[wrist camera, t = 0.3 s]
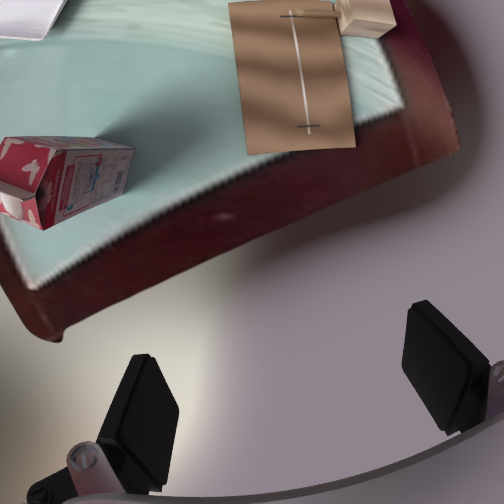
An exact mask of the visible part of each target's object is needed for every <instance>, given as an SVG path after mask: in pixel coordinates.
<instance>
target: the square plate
mask: <svg viewBox="0 0 504 504" xmlns="http://www.w3.org/2000/svg"><path fill="white" fill-rule="evenodd" d="M66 2H67V0H0V38H9V39H21V40H31V41H41V40H43V39H44V38H45V37H46V36H47V34H48V33H49V32H50V30H51V28H52V27H53V25H54V23H55V21H56V20H57V18H58V16H59V14H60V13H61V11H62V9H63V7H64V5H65V4H66Z"/></svg>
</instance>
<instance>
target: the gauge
mask: <svg viewBox="0 0 504 504" xmlns="http://www.w3.org/2000/svg"><path fill="white" fill-rule="evenodd" d="M333 10H334V11H326V10H296V16H298V17H301V16H315V17H334V18H336V22H337V27H338V31H339V35H348V36H359V37H369V38H377V39H378V38H379V37H381V36H382V35H384V34H385V33H386V32H388V31H389V30H391V29H392V28H393V27H395V26H396V21H395V18H394V14H393V11H392V7H391V4H390V1H389V0H337V1H336V3H335V4H334V6H333Z"/></svg>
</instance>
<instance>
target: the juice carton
mask: <svg viewBox="0 0 504 504" xmlns="http://www.w3.org/2000/svg"><path fill="white" fill-rule="evenodd" d="M134 151H135V148H132V147H128V146H125V145H121V144H117V143H114V142H110V141H106V140H102V139H98V138H93V137H67V136H21V137H5V138H4V139H3V141H2V143H1V144H0V212H1V213H3V214H5V215H8V216H10V217H12V218H15V219H17V220H19V221H21V222H24V223H26V224H29V225H31V226H33V227H36V228H38V229H40V230H43V231H44V230H46V229H48V228H50V227H52V226H54V225H56V224H58V223H60V222H62V221H64V220H67V219H69V218H71V217H73V216H75V215H77V214H79V213H82V212H84V211H86V210H89V209H91V208H93V207H95V206H98V205H100V204H102V203H105V202H107V201H109V200H112V199H114V198H117V197H119V196H122V194H123V190H124V186H125V182H126V179H127V175H128V171H129V168H130V164H131V161H132V157H133V154H134Z"/></svg>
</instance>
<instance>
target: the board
mask: <svg viewBox="0 0 504 504" xmlns="http://www.w3.org/2000/svg"><path fill="white" fill-rule="evenodd" d="M228 6H229V14H230V21H231V29H232V36H233V44H234V51H235V59H236V66H237V74H238V82H239V89H240V97H241V105H242V113H243V121H244V128H245V136H246V144H247V152H248V155H256V154H265V153H275V152H285V151H297V150H310V149H326V148H346V147H356V144H355V134H354V125H353V116H352V108H351V101H350V94H349V87H348V81H347V74H346V69H345V63H344V57H343V52H342V47H341V42H340V37H339V33H338V28H337V24H336V19H335V18H334V17H315V16H301V17H298V16H296V10H326V11H333V7H332V3H331V1H319V0H260V1H245V2H235V3H228Z"/></svg>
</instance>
